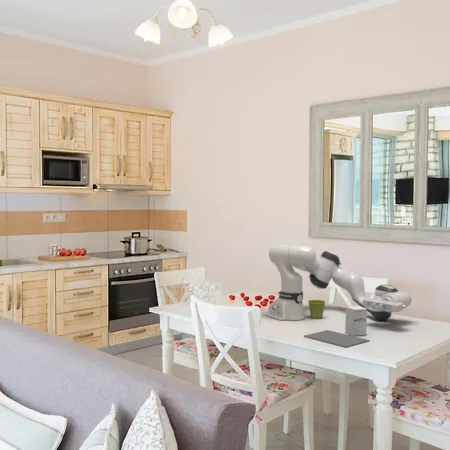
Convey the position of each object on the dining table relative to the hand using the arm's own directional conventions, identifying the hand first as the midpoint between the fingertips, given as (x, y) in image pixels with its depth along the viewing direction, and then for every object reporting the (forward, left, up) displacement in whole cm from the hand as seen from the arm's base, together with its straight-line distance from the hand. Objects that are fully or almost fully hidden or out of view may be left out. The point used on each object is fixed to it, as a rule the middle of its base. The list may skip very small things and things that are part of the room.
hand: (373, 307), depth 266 cm
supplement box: (-1, -13, -11) cm, 17 cm away
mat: (-1, -27, -11) cm, 30 cm away
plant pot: (-36, 0, -11) cm, 37 cm away
